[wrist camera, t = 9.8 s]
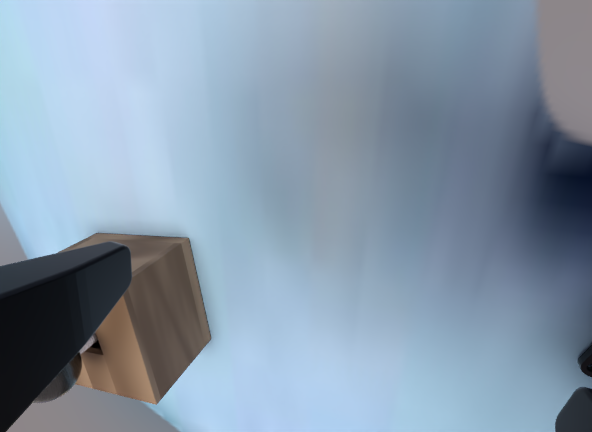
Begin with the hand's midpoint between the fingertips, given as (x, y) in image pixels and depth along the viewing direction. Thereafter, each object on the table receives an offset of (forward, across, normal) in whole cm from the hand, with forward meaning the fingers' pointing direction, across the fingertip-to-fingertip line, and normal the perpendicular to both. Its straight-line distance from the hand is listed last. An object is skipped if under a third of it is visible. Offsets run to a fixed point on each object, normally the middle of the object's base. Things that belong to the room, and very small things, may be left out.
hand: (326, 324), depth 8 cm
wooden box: (+13, +13, +13) cm, 23 cm away
